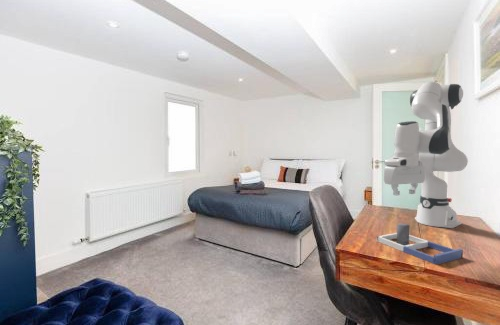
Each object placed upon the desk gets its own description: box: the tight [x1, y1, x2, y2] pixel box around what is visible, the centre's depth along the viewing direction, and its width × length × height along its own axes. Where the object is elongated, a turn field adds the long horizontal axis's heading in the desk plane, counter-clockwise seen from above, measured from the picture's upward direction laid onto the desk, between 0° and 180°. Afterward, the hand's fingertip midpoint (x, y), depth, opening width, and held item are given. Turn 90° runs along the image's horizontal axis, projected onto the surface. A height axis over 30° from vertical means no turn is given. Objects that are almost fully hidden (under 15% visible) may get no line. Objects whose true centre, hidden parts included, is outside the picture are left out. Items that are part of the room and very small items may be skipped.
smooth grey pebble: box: [395, 222, 410, 246], centre depth 106 cm, size 4×4×8 cm
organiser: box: [376, 232, 464, 265], centre depth 101 cm, size 15×24×3 cm, turn 23°
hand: (404, 194), depth 105 cm, fingers open, 8 cm apart
